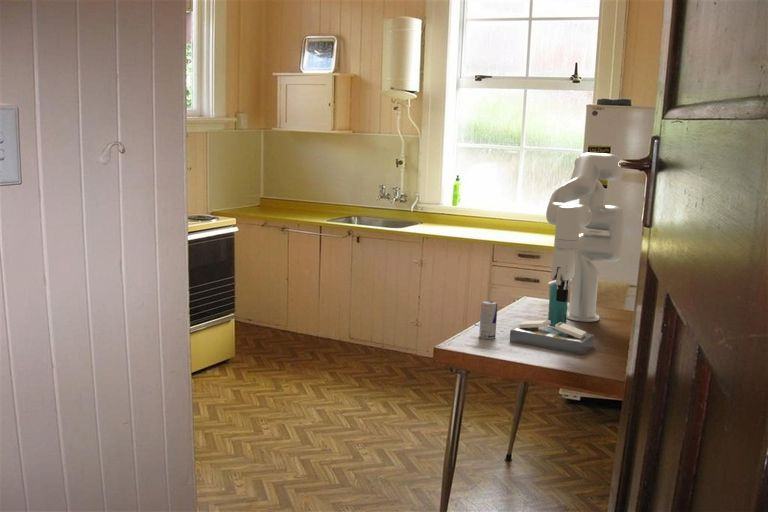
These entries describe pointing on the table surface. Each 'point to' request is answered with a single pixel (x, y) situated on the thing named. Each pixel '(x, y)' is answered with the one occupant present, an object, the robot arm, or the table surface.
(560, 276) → the robot arm
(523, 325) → the rocker
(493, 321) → the energy drink
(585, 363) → the table surface
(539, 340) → the grey rectangular tray
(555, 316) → the beverage bottle
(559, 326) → the rocker
